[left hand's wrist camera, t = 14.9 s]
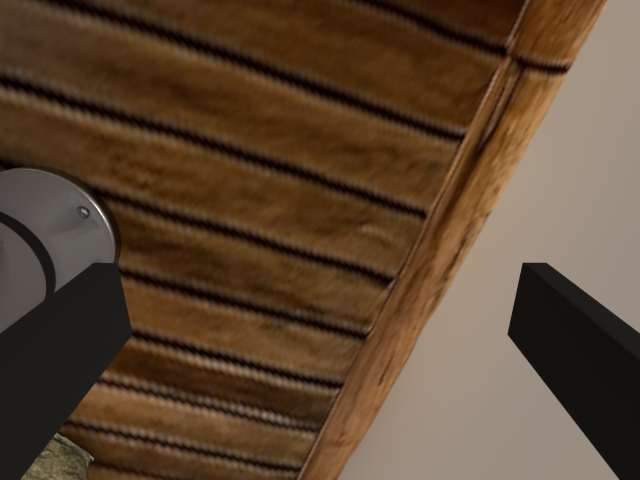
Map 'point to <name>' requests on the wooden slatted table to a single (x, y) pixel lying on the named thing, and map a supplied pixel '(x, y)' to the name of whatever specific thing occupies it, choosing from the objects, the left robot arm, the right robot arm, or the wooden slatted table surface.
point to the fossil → (60, 462)
